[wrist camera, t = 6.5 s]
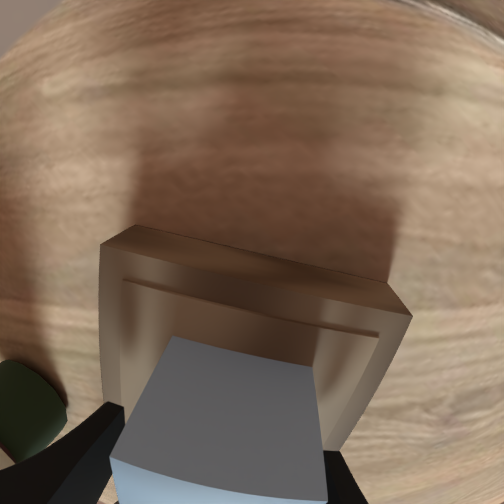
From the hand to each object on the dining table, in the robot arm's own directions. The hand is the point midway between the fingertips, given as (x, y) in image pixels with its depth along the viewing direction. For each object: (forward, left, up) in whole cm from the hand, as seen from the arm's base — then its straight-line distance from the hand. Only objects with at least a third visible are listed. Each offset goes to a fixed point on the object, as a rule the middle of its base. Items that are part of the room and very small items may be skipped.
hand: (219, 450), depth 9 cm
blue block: (0, 0, -2) cm, 2 cm away
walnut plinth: (0, 0, -5) cm, 5 cm away
